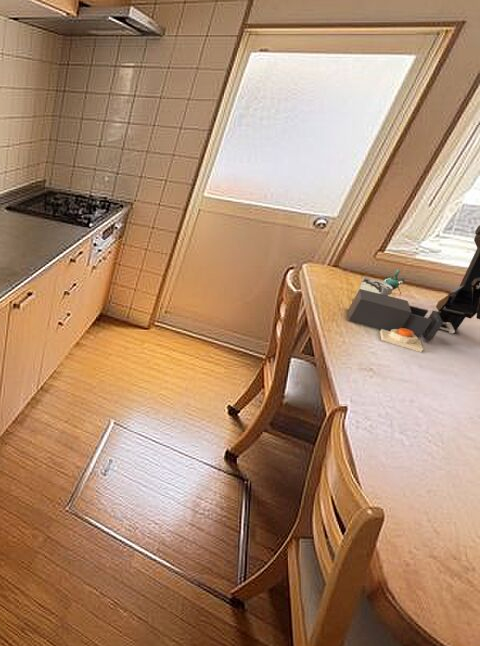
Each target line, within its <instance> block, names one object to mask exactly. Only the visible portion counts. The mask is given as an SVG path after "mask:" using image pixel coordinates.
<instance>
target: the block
mask: <svg viewBox="0 0 480 646" xmlns="http://www.w3.org/2000/svg"><path fill="white" fill-rule="evenodd" d="M397 332H398V329H392V330H391V331H387V330H384V329H381V330H379V335H380V339H381V341H383V342H385V343H389V344H393V345H396V346H399V347H403V348H406V349H410V350H413V351H415V352H416V351H417V352H420V353H422V351H424V347H423V345H422V342H421V339H419V338H418V336H415V335H414V334H413V335H412V337H406V336H402V335H400V334H398V333H397Z"/></svg>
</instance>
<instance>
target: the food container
mask: <svg viewBox="0 0 480 646" xmlns="http://www.w3.org/2000/svg"><path fill="white" fill-rule="evenodd" d="M359 289H362V290H366V291H370V292H374V293H378V294H382V295H386V296H387V295H388V296H390V295H392V293H393V289H392V286H390V285H389V284H386V283H384V282H383V281H382V280H378V279H374V278H370V277H363V278H362V279H361V283H360V285H359V288H358V289H357V292H356V294H355V296H356V295H357V293H358V291H359Z"/></svg>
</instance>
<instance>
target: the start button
mask: <svg viewBox="0 0 480 646" xmlns="http://www.w3.org/2000/svg"><path fill="white" fill-rule="evenodd" d="M397 333H398V334H400V335H402V336H406V337H412V335H413V334H414V332H413V331H411V330H408V329H405V328H400V329H399V330H398V332H397Z"/></svg>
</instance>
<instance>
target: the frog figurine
mask: <svg viewBox="0 0 480 646" xmlns="http://www.w3.org/2000/svg"><path fill="white" fill-rule="evenodd" d="M400 272H401V270H400V269H397V270H396V272H395V273H394V275H390V276H384V278H383V279H384V280H383V281H382V282H384V283H386V284H389V285H390V286H392V289H393V290H396V289H398V291H399V294H400V295H402V291H401V289H400V287H399V286H401V285H403V283H405V279H404V278H400V280H399V277H398V276H399V274H400ZM393 290H392V291H393ZM387 296H389V295H387Z"/></svg>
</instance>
